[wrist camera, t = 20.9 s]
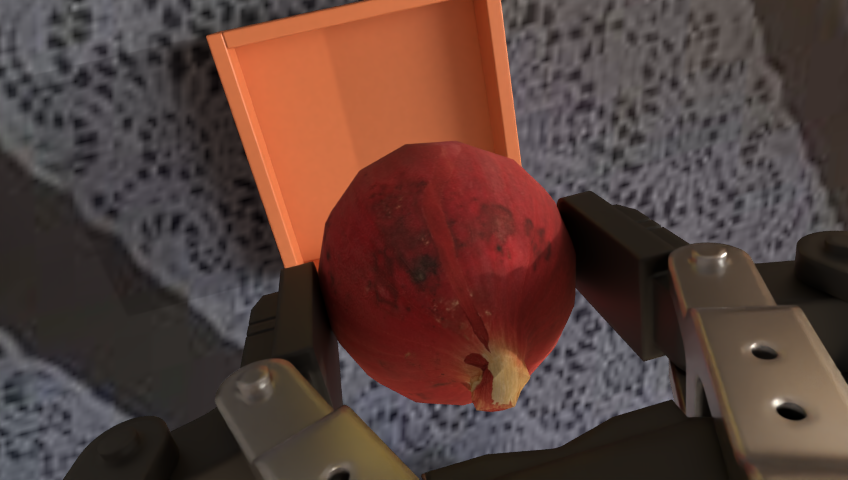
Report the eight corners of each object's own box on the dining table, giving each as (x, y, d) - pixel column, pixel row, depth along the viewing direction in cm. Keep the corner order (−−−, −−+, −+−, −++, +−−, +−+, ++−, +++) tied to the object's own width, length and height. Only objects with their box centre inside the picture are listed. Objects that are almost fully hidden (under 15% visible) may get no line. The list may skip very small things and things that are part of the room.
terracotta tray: (295, 271, 27) (294, 295, 25) (215, 32, 23) (204, 35, 20) (512, 215, 28) (530, 233, 26) (479, -25, 24) (497, -28, 21)
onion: (275, 184, 15) (243, 350, 8) (457, 73, 15) (596, 140, 8) (383, 333, 18) (434, 562, 10) (541, 240, 17) (706, 409, 10)
